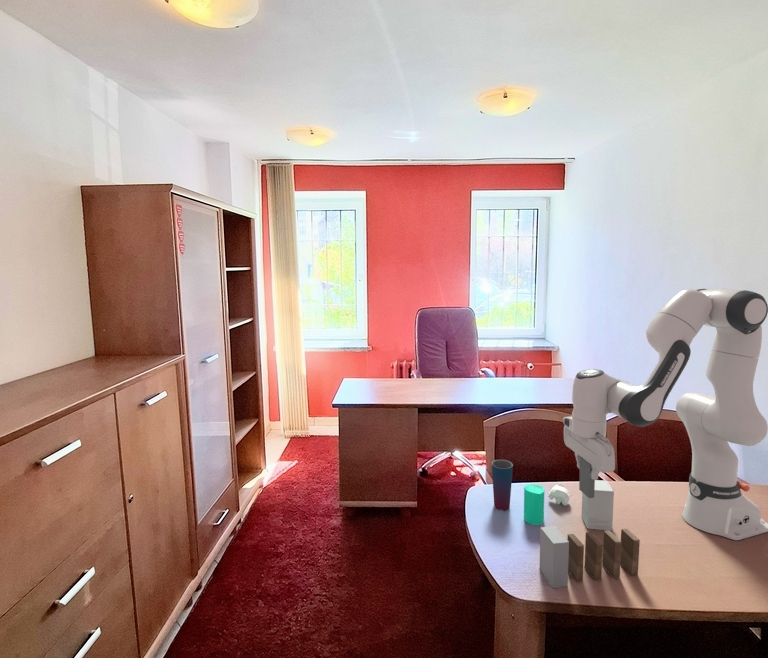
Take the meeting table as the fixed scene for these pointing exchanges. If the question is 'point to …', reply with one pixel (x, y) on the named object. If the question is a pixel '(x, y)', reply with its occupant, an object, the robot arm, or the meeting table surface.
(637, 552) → the domino
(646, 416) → the robot arm
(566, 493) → the elephant figurine
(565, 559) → the end block
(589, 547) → the domino
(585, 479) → the gray domino
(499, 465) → the cup
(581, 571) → the domino
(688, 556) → the meeting table surface
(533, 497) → the candle
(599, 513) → the supplement box
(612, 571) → the domino
